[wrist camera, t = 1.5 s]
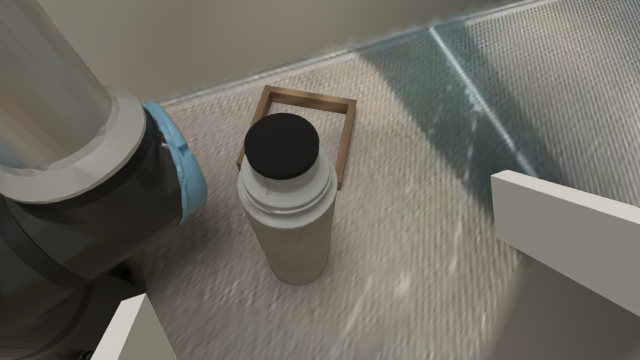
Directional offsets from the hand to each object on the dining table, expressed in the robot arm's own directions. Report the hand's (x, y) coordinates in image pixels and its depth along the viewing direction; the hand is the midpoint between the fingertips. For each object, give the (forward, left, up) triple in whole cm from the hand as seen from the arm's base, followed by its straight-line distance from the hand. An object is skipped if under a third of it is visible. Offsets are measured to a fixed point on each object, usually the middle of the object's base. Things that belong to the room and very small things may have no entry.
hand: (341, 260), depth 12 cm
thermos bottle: (-5, +9, -34) cm, 35 cm away
